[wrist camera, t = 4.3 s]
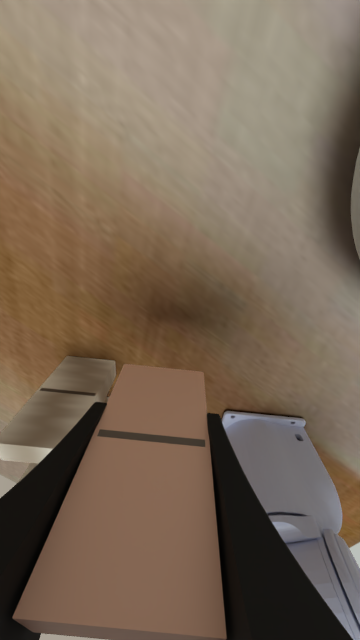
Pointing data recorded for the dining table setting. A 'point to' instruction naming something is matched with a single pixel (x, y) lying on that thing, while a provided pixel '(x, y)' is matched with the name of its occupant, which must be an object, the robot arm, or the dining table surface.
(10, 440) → the domino
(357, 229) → the serving bowl
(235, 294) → the dining table surface
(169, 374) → the head domino
